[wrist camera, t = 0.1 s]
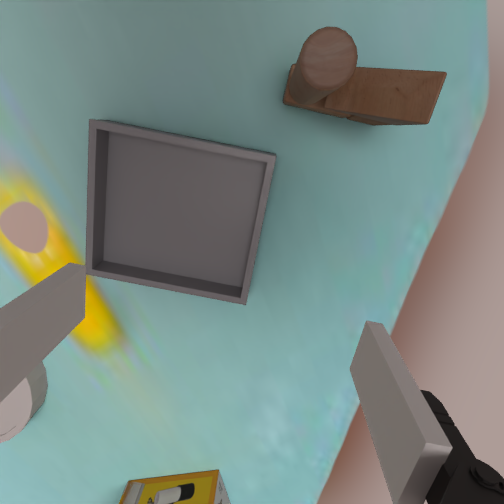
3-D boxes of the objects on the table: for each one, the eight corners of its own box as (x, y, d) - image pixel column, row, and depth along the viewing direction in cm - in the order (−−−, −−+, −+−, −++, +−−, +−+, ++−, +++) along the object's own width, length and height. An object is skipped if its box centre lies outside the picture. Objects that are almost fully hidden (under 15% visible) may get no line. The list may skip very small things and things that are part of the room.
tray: (106, 120, 40) (89, 119, 36) (275, 153, 40) (276, 156, 37) (100, 262, 46) (85, 273, 43) (247, 290, 47) (245, 305, 43)
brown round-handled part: (375, 126, 39) (455, 124, 22) (281, 104, 39) (289, 85, 22) (386, 91, 38) (480, 60, 21) (290, 67, 37) (305, 17, 21)
